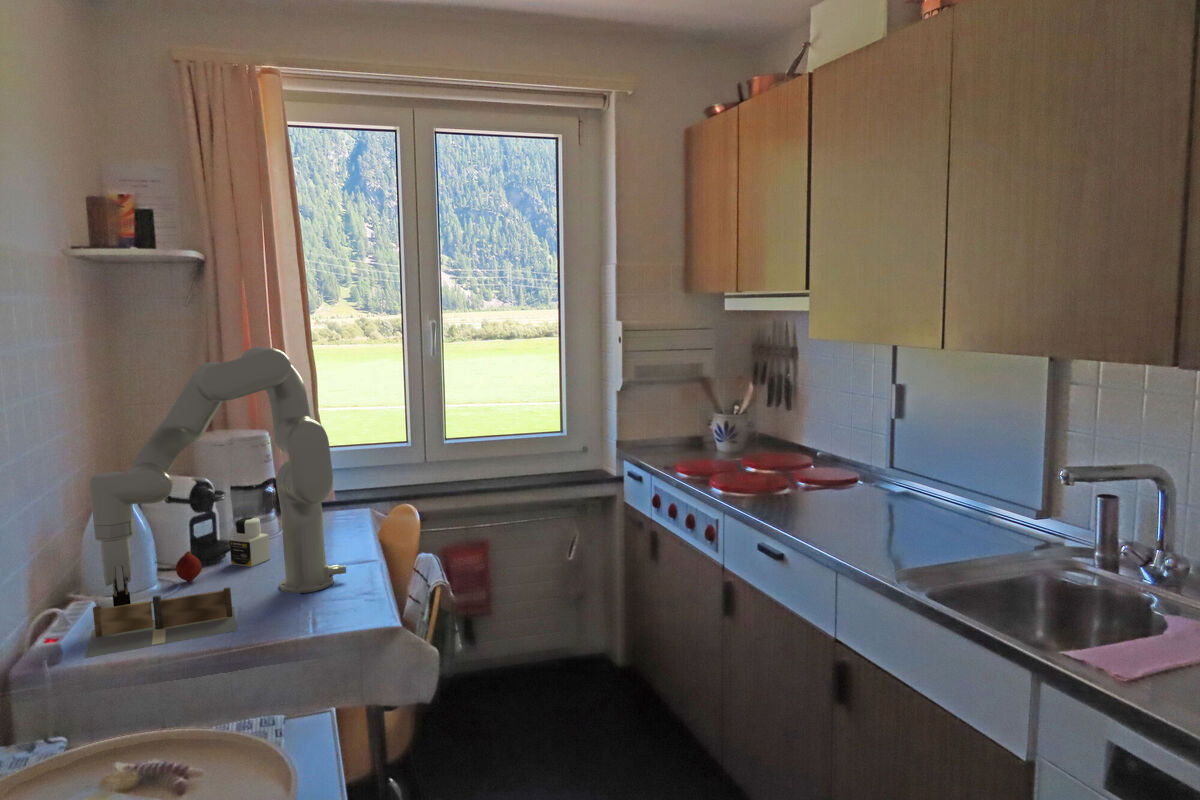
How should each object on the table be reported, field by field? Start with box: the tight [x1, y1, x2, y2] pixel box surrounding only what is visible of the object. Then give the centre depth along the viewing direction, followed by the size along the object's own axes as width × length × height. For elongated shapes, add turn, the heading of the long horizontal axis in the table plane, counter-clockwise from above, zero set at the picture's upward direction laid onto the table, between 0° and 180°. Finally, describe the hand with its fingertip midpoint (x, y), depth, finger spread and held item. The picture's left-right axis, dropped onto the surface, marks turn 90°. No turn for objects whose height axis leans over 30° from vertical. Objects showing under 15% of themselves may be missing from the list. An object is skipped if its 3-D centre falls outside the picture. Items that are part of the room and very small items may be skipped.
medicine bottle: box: [229, 516, 271, 568], centre depth 228 cm, size 7×7×12 cm
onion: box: [175, 550, 203, 583], centre depth 213 cm, size 6×6×8 cm
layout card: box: [84, 606, 238, 659], centre depth 181 cm, size 28×16×1 cm, turn 116°
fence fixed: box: [152, 586, 233, 629], centre depth 185 cm, size 15×2×7 cm, turn 116°
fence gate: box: [92, 600, 154, 637], centre depth 179 cm, size 11×1×6 cm, turn 116°
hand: (122, 611), depth 184 cm, fingers closed
